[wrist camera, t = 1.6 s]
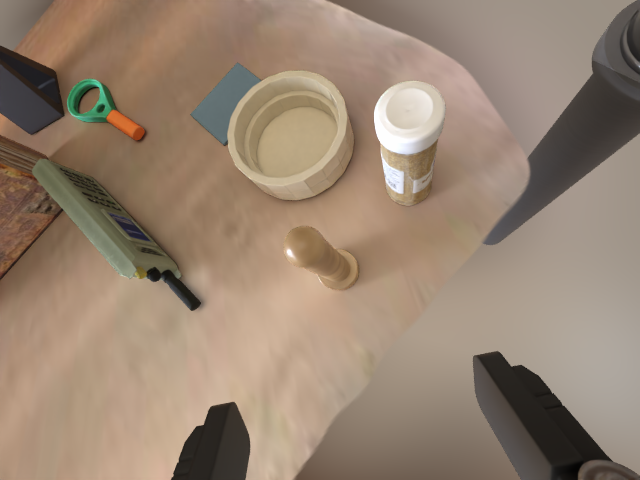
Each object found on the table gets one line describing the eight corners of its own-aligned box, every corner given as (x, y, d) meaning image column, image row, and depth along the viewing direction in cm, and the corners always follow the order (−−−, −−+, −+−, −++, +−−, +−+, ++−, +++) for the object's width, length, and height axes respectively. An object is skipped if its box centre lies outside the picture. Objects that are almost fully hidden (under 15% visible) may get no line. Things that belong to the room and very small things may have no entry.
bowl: (299, 81, 40) (285, 50, 36) (378, 138, 36) (374, 111, 31) (228, 158, 40) (205, 138, 36) (299, 224, 36) (283, 210, 32)
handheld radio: (95, 174, 45) (213, 294, 37) (80, 193, 45) (195, 317, 37) (43, 153, 39) (171, 292, 31) (26, 175, 39) (149, 320, 31)
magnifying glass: (67, 110, 49) (56, 103, 47) (91, 77, 49) (81, 69, 48) (131, 156, 44) (120, 150, 43) (157, 119, 44) (148, 112, 43)
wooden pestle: (338, 243, 35) (298, 199, 22) (367, 269, 33) (342, 239, 20) (312, 272, 35) (256, 245, 22) (340, 298, 34) (298, 288, 20)
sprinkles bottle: (435, 201, 33) (454, 131, 21) (389, 210, 34) (379, 148, 21) (425, 159, 34) (437, 68, 22) (381, 170, 35) (367, 88, 23)
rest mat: (238, 64, 43) (237, 62, 43) (274, 91, 41) (273, 89, 40) (191, 116, 43) (189, 114, 43) (224, 146, 41) (223, 144, 41)
